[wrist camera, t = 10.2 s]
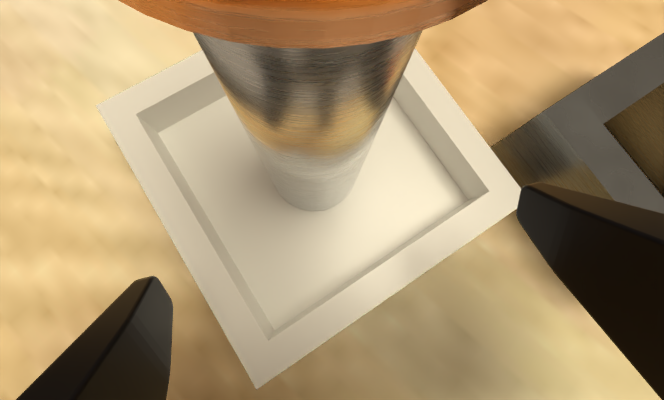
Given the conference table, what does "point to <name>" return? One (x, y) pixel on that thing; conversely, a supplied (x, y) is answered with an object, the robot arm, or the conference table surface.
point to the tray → (300, 225)
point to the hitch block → (600, 135)
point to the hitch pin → (308, 77)
